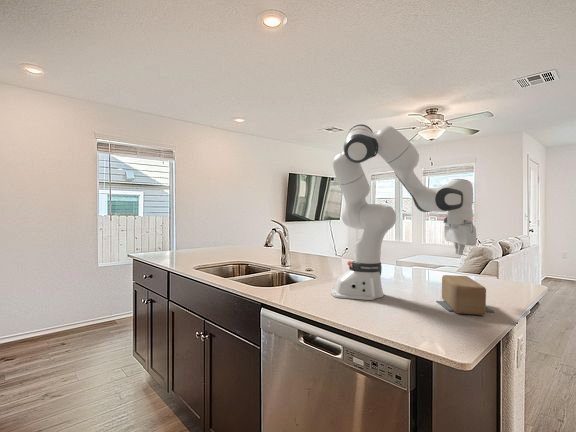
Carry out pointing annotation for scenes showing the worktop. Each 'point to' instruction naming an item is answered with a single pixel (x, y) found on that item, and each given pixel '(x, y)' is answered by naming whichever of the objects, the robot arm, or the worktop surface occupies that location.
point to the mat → (453, 310)
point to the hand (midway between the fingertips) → (459, 254)
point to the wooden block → (464, 294)
